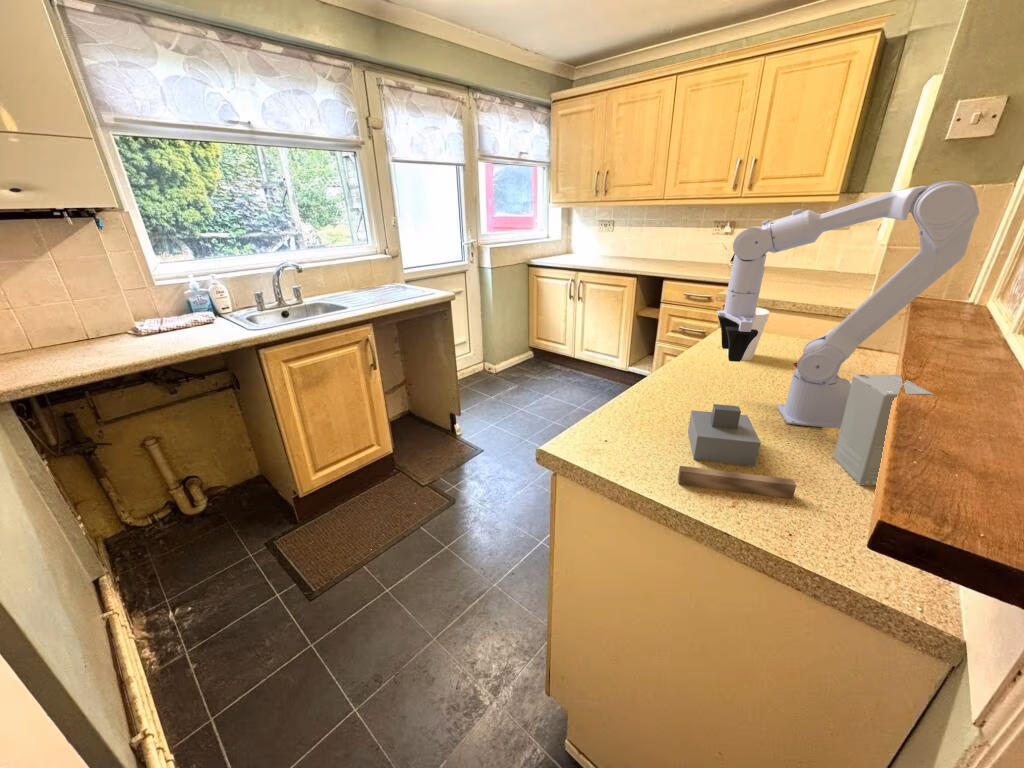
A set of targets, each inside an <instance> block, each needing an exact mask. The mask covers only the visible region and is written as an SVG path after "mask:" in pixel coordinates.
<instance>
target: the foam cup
mask: <svg viewBox="0 0 1024 768" xmlns="http://www.w3.org/2000/svg"><path fill="white" fill-rule="evenodd" d="M755 313H756V317H755V319H754V320H753V324H752V329H754V330H757V331H758V334H757V336H756V337H755V338H754V339H753V340H752V341H751V343H750V344H749V346H748V347H747V349H746V351H745V353H744V355H743V357H742V359H741V361H751V360H753V358H754V356H755V353H756V350H757V348H758V346H759V345H758V344H759V342H760V341H761V340H760V339H761V337H762V334H763V332H764V330H765V327H766V324H767V323H768V319H769V316H770V311H769V309H766V308H763V307H756V311H755ZM726 351H727V352H726V355H727V356H728V349H726Z"/></svg>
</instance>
